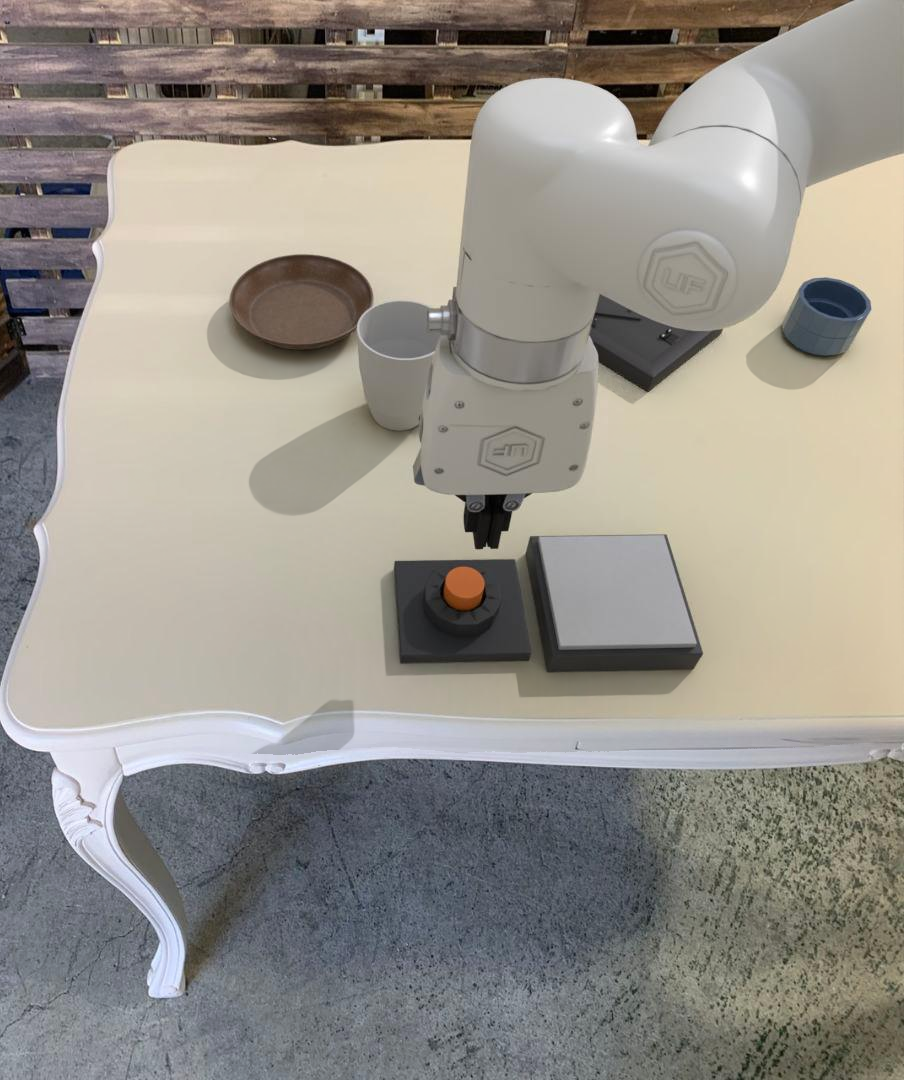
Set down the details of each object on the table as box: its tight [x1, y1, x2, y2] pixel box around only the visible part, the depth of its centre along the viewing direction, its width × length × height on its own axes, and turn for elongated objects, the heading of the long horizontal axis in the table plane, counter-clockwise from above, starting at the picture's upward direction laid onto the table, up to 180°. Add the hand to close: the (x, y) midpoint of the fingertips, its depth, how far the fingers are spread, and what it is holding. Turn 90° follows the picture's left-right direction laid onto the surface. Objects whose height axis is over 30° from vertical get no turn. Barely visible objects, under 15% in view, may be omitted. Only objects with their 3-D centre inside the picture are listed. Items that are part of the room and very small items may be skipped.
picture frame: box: [589, 294, 724, 392], centre depth 94 cm, size 13×2×18 cm
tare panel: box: [393, 558, 532, 664], centre depth 71 cm, size 10×9×3 cm
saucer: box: [229, 253, 374, 350], centre depth 93 cm, size 15×15×3 cm
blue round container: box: [781, 276, 872, 357], centre depth 92 cm, size 7×7×5 cm
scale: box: [524, 533, 704, 673], centre depth 72 cm, size 12×12×3 cm
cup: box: [356, 299, 441, 432], centre depth 82 cm, size 8×8×10 cm
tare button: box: [443, 567, 485, 611], centre depth 69 cm, size 3×3×2 cm
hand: (483, 533), depth 64 cm, fingers closed
